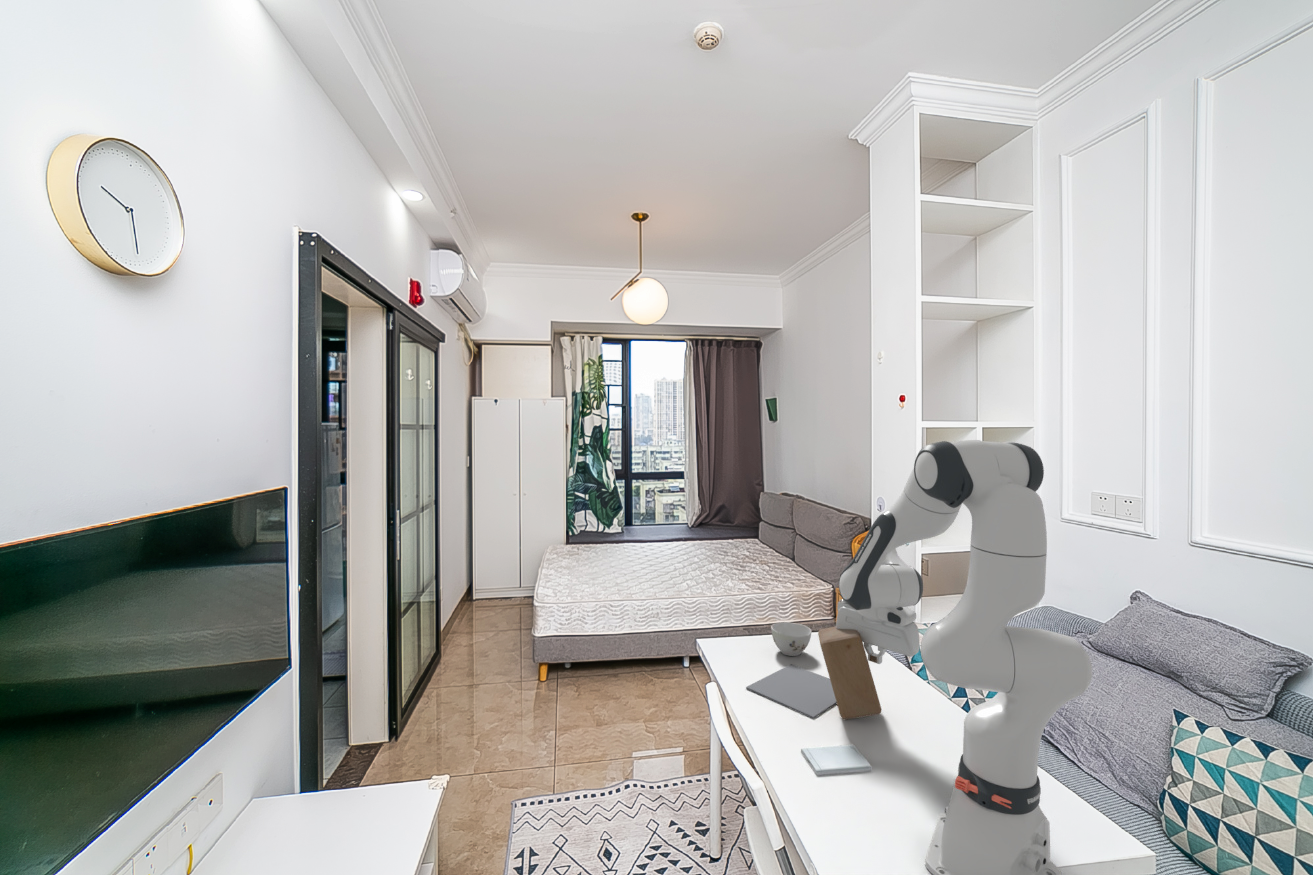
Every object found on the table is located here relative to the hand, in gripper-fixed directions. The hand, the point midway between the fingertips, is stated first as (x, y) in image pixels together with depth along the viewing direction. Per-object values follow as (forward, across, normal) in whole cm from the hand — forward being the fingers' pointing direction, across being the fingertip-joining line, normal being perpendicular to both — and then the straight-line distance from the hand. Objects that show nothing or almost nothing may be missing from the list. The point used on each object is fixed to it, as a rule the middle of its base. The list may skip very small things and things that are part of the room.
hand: (874, 661), depth 140 cm
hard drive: (+15, +3, -23) cm, 28 cm away
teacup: (+15, -38, +20) cm, 45 cm away
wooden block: (+13, -3, 0) cm, 14 cm away
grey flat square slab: (+15, -20, 0) cm, 25 cm away
